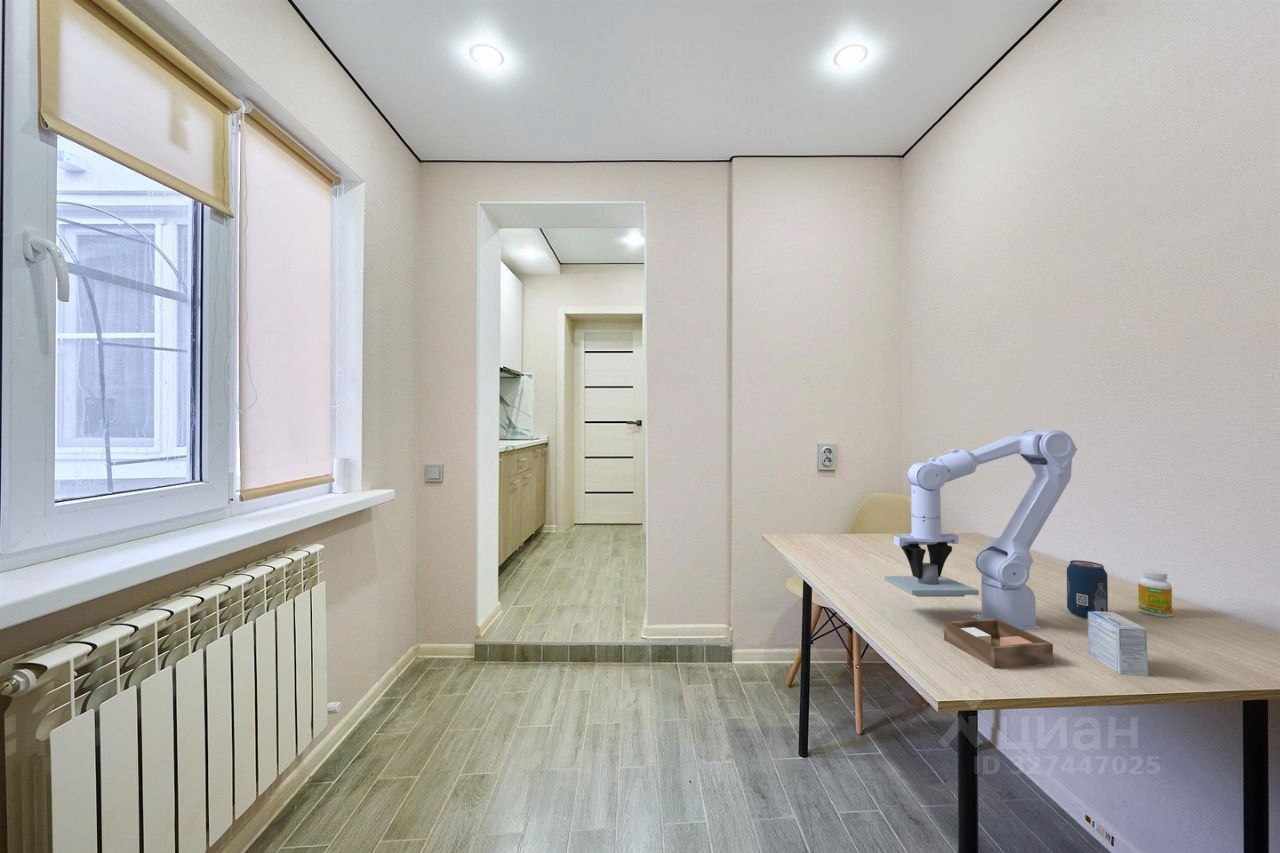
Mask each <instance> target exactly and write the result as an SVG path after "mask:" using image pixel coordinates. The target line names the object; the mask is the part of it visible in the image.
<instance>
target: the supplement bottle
mask: <svg viewBox="0 0 1280 853" xmlns="http://www.w3.org/2000/svg"><path fill="white" fill-rule="evenodd" d="M1141 575H1142V576H1143V577H1141V578H1139V579H1138V583H1137V584H1138V586H1137V587H1138V590H1137V591H1138V594H1137V595H1138V597H1137V598H1138V600H1137V601H1138V602H1137V603H1138V610H1139V611H1140V612H1142V613H1143V614H1144V613H1145V614H1146V615H1147V614H1148V615H1150V616H1154V617H1161V618H1162V617H1163V618H1168V617H1172V615H1173V586H1172V584H1171V583H1170V582H1169V581H1167V580H1168V572H1166V571H1163V570H1159V569H1152V568H1143V569H1142V572H1141Z"/></svg>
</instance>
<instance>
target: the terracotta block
mask: <svg viewBox="0 0 1280 853" xmlns="http://www.w3.org/2000/svg"><path fill="white" fill-rule="evenodd" d="M1028 643H1032V642H1030V641H1028V640H1026V639H1024V638H1022V637H1020V636H1012V637H1000V646H1003V645H1015V644H1028Z"/></svg>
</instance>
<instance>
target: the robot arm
mask: <svg viewBox="0 0 1280 853" xmlns="http://www.w3.org/2000/svg"><path fill="white" fill-rule="evenodd" d="M1077 451H1078V449H1077V447H1076V444H1075V443H1074V440H1073V439H1072V437H1071V435H1069V434H1068V433H1067V432H1065V431H1063V430H1059V429H1057V430H1056V429H1055V430H1034V429H1027V430H1026V429H1025V430H1023V431H1021V432H1016V433H1012V434H1010V435H1008V436H1005V437H1002V438H1000V439H998V440H995V441H993V442H991V443H988V444H985V445H982V446H980V447H978V448H976V449H972V450H971V451H968V450H965V449H962V448H960V449H958V448H952V449H949V450H948V452H949V453H946V454H943V455H941V456H938V457H933V456H931V457H929V458H928V461H927V462H923V461H922V462H916V463H913V464H912V465H910V466H911V467H909V469H908V471H907V473H906V474H905V478H906V480H907V482H908V484H909V485H910V486H911V487H910V488H911V491H910V492H911V494H910V507H911V508H910V510H911V512H910V513H911V514H910V516H911V519H910V520H911V532H910V533H906V534H901V535H894V536H893V545H894V546H896V547H897V546H898V547H900V548H901V550H902V551H903V553H904V554H905V557H906V560H907V561H908V564H909V566H910V570H911V574H912V575H911V576H914V577H916V578H922V566H923V563H924V557H925V554H926V552H927V551H928V556H929V563H932V564H936V565H938V577H940V576H942V572H943V568H944V566H945V563H946V561H947V559H948V557H949V555H950V554H951V553H952V552H953V546H951V545H949V544H953V545H959V535H958V534H954V533H942V527H941V526H942V524H941V523H942V520H941V518H942V517H941V515H942V514H941V511H942V510H941V489H942V487H944V485H945V484H946V483H949V482H951V481H955V480H957V479H960V478H963V477H967V476H968V475H971V474H974V473H975V472H976V470H977V467H978V466H980V465H983V464H986V463H988V462H992V461H996V460H999V459H1002V458H1005V457H1006V458H1007V457H1009V456H1012V455H1016V454H1018V455H1019V456H1020V457H1022V459H1023V460H1024V461H1025V462H1026V463H1027V464H1028V465H1029V466H1030V467H1031V469H1032V471H1033V472H1034V475H1035V477H1034V478H1033V480H1032V481H1031V484H1030V486H1029V487H1028V489H1027V490H1026V492H1025V494H1024V496H1023V497H1022V498H1021V500H1020V502H1019V504H1018V505H1017V507H1016V509H1015V511H1014V513H1013V514H1012V516H1011V518H1010V520H1009V521H1008V523H1007V524H1006V526H1005V527H1004V530H1003V532H1002V533H1001V535H1000V536H999V537H997V538H995V539H992V540H991V541H989V543H988V544H987V545H986V547H984V548H983V549H982V550H980V551H978V553H977V554H976V556H975V559H974V564H975V568H976V569H977V570H978V572H979V573H980V578H981V579H980V580H981V585H980V586H981V614H974V615H971V618H972V619H974V620H980V619H995V618H997V619H999V620H1001V621H1003V622H1006V623H1008V624H1010V625H1012V626H1015V627H1017V628H1019V629H1021V630H1029V629H1030V630H1033V629H1035V630H1036V629H1040V626H1039V625H1037V624H1036V623H1037V622H1036V620H1037V619H1036V618H1037V617H1036V614H1037V613H1036V609H1037V608H1036V607H1037V603H1036V595H1035V594H1034V591H1033V590H1032V588H1031V587H1030V586H1028V585H1027V584H1026V583H1028V582H1029V578H1030V571H1031V570H1030V569H1031V566H1032V564H1033V563H1034V561H1033V557H1032V555H1031V554H1032V553H1031V552H1030V549H1031V547H1032V545H1033V544H1034V542H1035V540H1036V538H1037V537H1038V535H1039V534H1040V532H1041V530H1042V529H1043V527H1044V525H1045V523H1046V522H1047V520H1048V518H1049V516H1050V515H1051V513H1052V512H1053V509H1054V508H1055V507H1056V505H1057V503H1058V501H1059V500H1060V498H1061V496H1062V495H1063V493H1064V491H1065V490H1066V487H1067V486H1068V485H1069V482H1070V481H1071V478H1072V469H1073V468H1072V465H1073V464H1072V463H1073V458H1074V456H1075V455H1076V452H1077ZM921 545H922V546H923V545H926V548H927V550H926V549H924V548H922V547H921Z"/></svg>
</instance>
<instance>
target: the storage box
mask: <svg viewBox="0 0 1280 853" xmlns="http://www.w3.org/2000/svg"><path fill="white" fill-rule="evenodd" d="M970 627H975V628H977V629H979V630H981V631H983V632H985V633H987V634H989V635H991V644H989V643H987V642H985V641H984V640H982V639H980V638H978V637H976V636H974V635H972V634H970V633H968V632H966V631H964V630H962V629H960V628H970ZM943 632H944V633H943V640H944V641H945V642H947V643H948V644H951V645H952V646H954V647H955V648H957V649H959V650H961V651H963V652H965V653H966V654H968V655H970V656H971V657H973V658H974V659H977V660H979V661H981V662H982V663H983V664H985V665H987V666H989V667H990V668H992V669H994V670H995V669H1006V668H1019V667H1029V666H1030V667H1031V666H1041V665H1053V664H1054V650H1053V649H1054V644H1053V643H1052V642H1051V641H1048V640H1045V639H1043V638H1041V637H1039V636H1037V635H1035V634H1032V633H1030V632H1028V631H1025V630H1024V629H1022V630H1021V629H1019V628H1017V627H1015V626H1012V625H1010V624H1008V623H1006V622H1003V621H1001V620H999V619H997V618H995V619H980V620H977V619H969V620H956V621H955V620H954V621H952V620H951V621H943ZM1012 636H1020V637H1022V638H1024V639H1026V640H1028V641H1030V642H1032V643H1028V644H1015V645H1003V646H1000V637H1012Z"/></svg>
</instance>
